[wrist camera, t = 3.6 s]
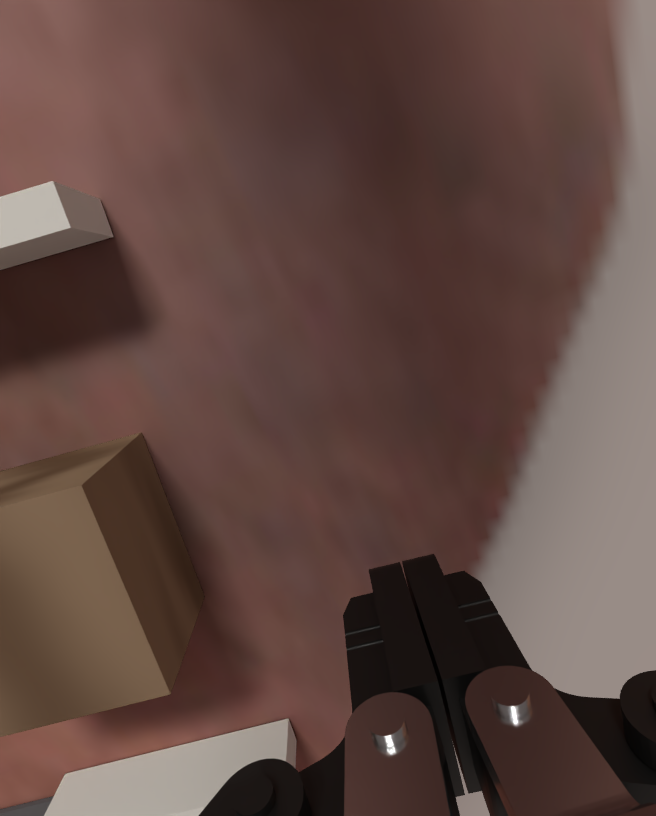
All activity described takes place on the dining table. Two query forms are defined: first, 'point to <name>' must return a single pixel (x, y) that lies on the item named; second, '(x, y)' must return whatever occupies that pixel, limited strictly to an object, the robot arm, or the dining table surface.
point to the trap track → (169, 768)
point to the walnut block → (90, 586)
